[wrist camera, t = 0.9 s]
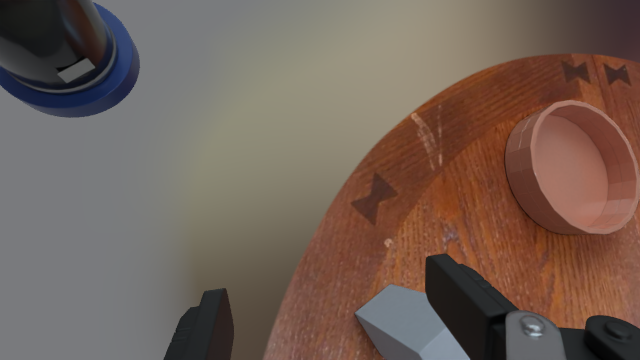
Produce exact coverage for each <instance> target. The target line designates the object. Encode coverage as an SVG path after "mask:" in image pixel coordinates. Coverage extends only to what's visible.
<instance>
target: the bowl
mask: <svg viewBox="0 0 640 360" xmlns="http://www.w3.org/2000/svg"><path fill="white" fill-rule="evenodd" d="M505 167H506V173H507V178H508V181H509V184H510V187H511V190H512V192H513V194H514V196H515V198H516V200H517V201H518V203H519V205H520V206H521V207H522V209H523V210H524V211H525V212H526V213H527V214H528V216H529V217H530V218H531V219H533V220H534V221H535V222H536V223H537V224H539V225H540V226H542V227H543V228H545V229H547V230H549V231H552V232H555V233H558V234H563V235H606V234H609V233H612V232H614V231H617V230H620V229H622V228H623V227H624V226H625V225H626V224H627V223H628V221H629V220H630V219H631V218H632V217H633V215H634V213H635V210H636V208H637V205H638V202H639V198H640V175H639V169H638V164H637V160H636V158H635V155H634V153H633V151H632V148H631V146H630V143H629V141H628V140H627V138H626V137H625V135H624V134H623V133H622V131H621V130H620V128H619V127H618V125H617V124H616V123H614V122H613V121H612V120H611V119H610V118H609V117H608V116H607V115H606V114H605V113H604V112H602V111H601V110H599V109H597V108H595V107H593V106H591V105H590V104H588V103H584V102H579V101H574V100H567V101H562V102H557V103H554V104H551V105H549V106H547V107H545V108H543V109H540V110H538V111H536V112H534V113H532V114H531V115H529V116H527V117H525V118H524V119H522V120H521V121H520V122H519V123H518V124H517V125H516V126H515V127H514V129H513V130H512V132H511V134H510V136H509V138H508V141H507V145H506V151H505Z"/></svg>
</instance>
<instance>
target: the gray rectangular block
mask: <svg viewBox="0 0 640 360" xmlns="http://www.w3.org/2000/svg"><path fill="white" fill-rule="evenodd" d="M355 315H356V317H357V318H358V320H359V321H360V323H361V325H362V326H363V328H364V329H365V331H366V332H367V334H368V336H369V337H370V339H371V340H372V342H373V344H374V345H375V347H376V348H377V350H378V352H379V353H380V355H381V356H383V357H384V358H385V359H386V360H470V358H469V357H468V356H467V354H466V353H465V352H464V350H463V349H462V348H461V346H460V345H459V343H458V342H457V341H456V339H455V338H454V337H453V335H452V334H451V333H450V331H449V330H448V328H447V327H446V326H445V324H444V323H443V322H442V320H441V319H440V318H439V316H438V315H437V313H436V312H435V311H434V309H433V308H432V307H431V305H430V304H429V302H428V299H427V296H426V294H425V293H422V292H418V291H414V290H411V289H407V288H403V287H400V286H396V285H393V284H390V285H388V286H387V287H386V288H385V289H383V290H382V291H381V292H380V293H379V294H377V295H376V296H375V297H374V298H372V299H371V300H370V301H369V302H367V303H366V304H365V305H364V306H363V307H361V308H360V309H359V310H358V311H356V312H355Z"/></svg>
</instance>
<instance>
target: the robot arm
mask: <svg viewBox="0 0 640 360" xmlns="http://www.w3.org/2000/svg"><path fill="white" fill-rule="evenodd" d="M117 58H118V45H117V41H116V38H115V36H114V34H113V32H112V30H111V29H110V27H109V26H108V24H107V23H106V22H105V20H104V19H103V18H102V17H101V15H100V13H99V12H98V10H97V9H96V7H95V5H94V3H93V2H92V0H0V67H1V68H3V69H4V70H6V71H7V72H8V73H9V74H10V75H11V76H12V77H13V78H15V79H16V80H17V81H19V82H20V83H21V84H23V85H25V86H26V87H28V88H30V89H32V90H35V91H38V92H41V93H45V94H50V95H72V94H77V93H81V92H84V91H87V90H89V89H92V88H94V87H95V86H97V85H99V84H100V83H101V82H103V81H104V80H105V79H106V78H107V77H108V76H109V75H110V73H111V72H112V70H113V69H114V67H115V65H116V62H117ZM425 291H426V296H427V299H428V302H429V304H430V305H431V307H432V308H433V309H434V311H435V312H436V313H437V315H438V316H439V318H440V319H441V320H442V322H443V323H444V324H445V326H446V327H447V328H448V330H449V331H450V333H451V334H452V335H453V337H454V338H455V339H456V341H457V342H458V343H459V345H460V346H461V348H462V349H463V350H464V352H465V353H466V354H467V356H468V357H469V358H470V360H640V329H639V328H637V327H636V326H634V325H632V324H630V323H628V322H626V321H623V320H621V319H617V318H614V317H610V316H603V315H596V316H591V317H589V318H588V319H587V321H586V326H585V329H572V328H559V327H557V326H556V325H555V324H554V323H553V322H552V321H550V320H549V319H547V318H546V317H544V316H542V315H540V314H537V313H534V312H530V311H524V310H519V309H518V308H517V307H516V306H514V305H513V304H512V303H511V302H510V301H509V300H508V299H507V298H505V297H504V296H503V295H502V294H501V293H500V292H499V291H498V290H496V289H495V288H494V287H492V286H491V284H490V283H489V282H487V281H486V280H484V278H483V277H482V276H481V275H480V274H478V273H477V272H476V271H475V270H473V269H471V268H469V267H467V266H465V265H463V264H457V263H456V262H455V261H454V260H453V259H452V258H451V257H450V256H449V255H448V254H439V255H433V256H428V257H427V258H426V274H425ZM233 339H234V326H233V319H232V314H231V309H230V304H229V299H228V294H227V290H226V288H222V289H216V290H209V291H205V292H204V294H203V297H202V299H201V302H200V305H199V306H197V307H191V308H190V309H189V310H188V311H187V312H186V313H185V314H184V315H183V316H182V317H181V319H180V321H179V323H178V326H177V328H176V333H174V335H173V338H172V342H171V343H170V345H169V347H168V350H167V352H166V355H165V357H164V360H230V358H231V351H232V346H233Z"/></svg>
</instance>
